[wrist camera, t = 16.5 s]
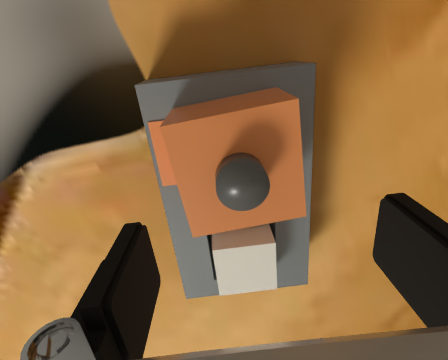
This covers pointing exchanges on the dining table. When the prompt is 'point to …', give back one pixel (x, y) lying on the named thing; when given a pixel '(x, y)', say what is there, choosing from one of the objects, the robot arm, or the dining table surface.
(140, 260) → the robot arm
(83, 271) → the dining table surface
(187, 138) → the lockout cap
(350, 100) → the dining table surface
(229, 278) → the block
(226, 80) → the breaker panel
